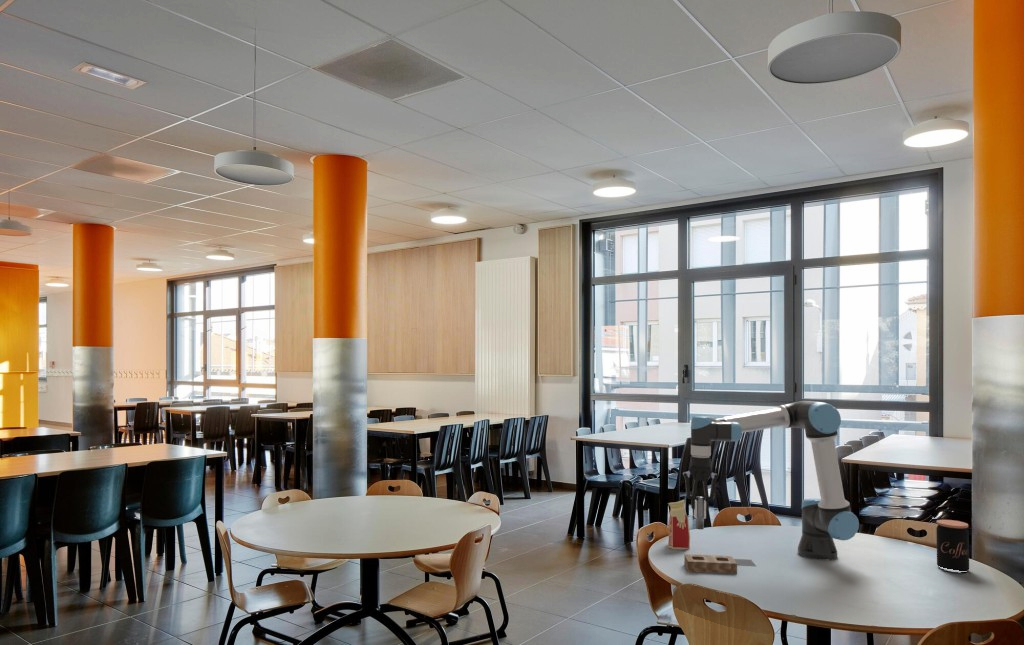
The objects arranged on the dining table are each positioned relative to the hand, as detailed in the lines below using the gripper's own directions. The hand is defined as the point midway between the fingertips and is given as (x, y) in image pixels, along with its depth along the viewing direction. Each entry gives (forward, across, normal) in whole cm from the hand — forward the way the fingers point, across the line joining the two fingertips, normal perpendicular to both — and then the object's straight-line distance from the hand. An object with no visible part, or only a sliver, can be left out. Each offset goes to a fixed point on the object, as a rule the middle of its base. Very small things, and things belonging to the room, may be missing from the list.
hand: (699, 517), depth 268 cm
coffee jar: (+18, -99, -15) cm, 102 cm away
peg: (+4, 0, 0) cm, 4 cm away
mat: (+19, -18, -10) cm, 28 cm away
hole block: (+19, -4, 0) cm, 20 cm away
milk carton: (+20, +4, -30) cm, 36 cm away
